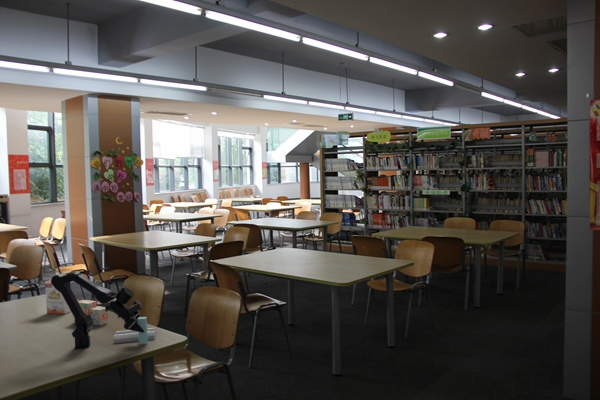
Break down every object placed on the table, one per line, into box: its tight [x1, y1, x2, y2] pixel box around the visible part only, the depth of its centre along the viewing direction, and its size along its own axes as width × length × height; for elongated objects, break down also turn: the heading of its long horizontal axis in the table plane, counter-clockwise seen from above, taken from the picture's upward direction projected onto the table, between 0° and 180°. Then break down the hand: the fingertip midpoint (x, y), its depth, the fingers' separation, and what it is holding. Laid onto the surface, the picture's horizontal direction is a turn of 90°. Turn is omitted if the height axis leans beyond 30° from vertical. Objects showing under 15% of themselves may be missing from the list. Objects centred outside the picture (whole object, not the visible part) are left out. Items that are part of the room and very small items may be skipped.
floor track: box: [113, 327, 157, 345], centre depth 258 cm, size 20×12×4 cm, turn 102°
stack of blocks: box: [77, 299, 109, 327], centre depth 291 cm, size 21×6×12 cm, turn 62°
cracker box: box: [44, 279, 72, 315], centre depth 315 cm, size 14×6×21 cm, turn 73°
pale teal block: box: [138, 316, 149, 345], centre depth 249 cm, size 5×3×13 cm, turn 102°
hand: (144, 329), depth 249 cm, fingers open, 9 cm apart
